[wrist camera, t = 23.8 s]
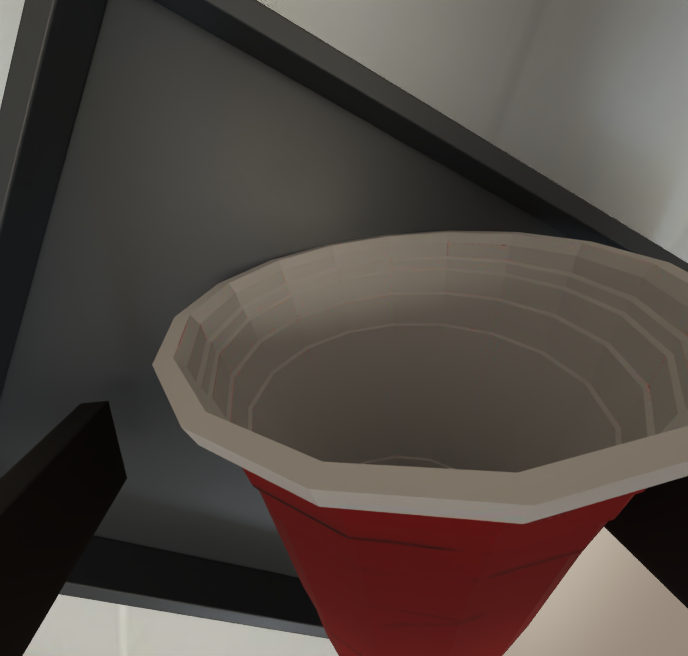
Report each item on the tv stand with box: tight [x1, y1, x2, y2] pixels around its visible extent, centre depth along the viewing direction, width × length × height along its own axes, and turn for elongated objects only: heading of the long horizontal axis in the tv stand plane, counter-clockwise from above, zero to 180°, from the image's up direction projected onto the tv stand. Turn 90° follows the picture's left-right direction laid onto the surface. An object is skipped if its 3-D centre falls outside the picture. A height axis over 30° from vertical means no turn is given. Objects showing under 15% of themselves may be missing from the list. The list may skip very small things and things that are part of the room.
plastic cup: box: [152, 230, 688, 656], centre depth 11 cm, size 11×11×12 cm
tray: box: [0, 0, 688, 639], centre depth 14 cm, size 21×19×2 cm
